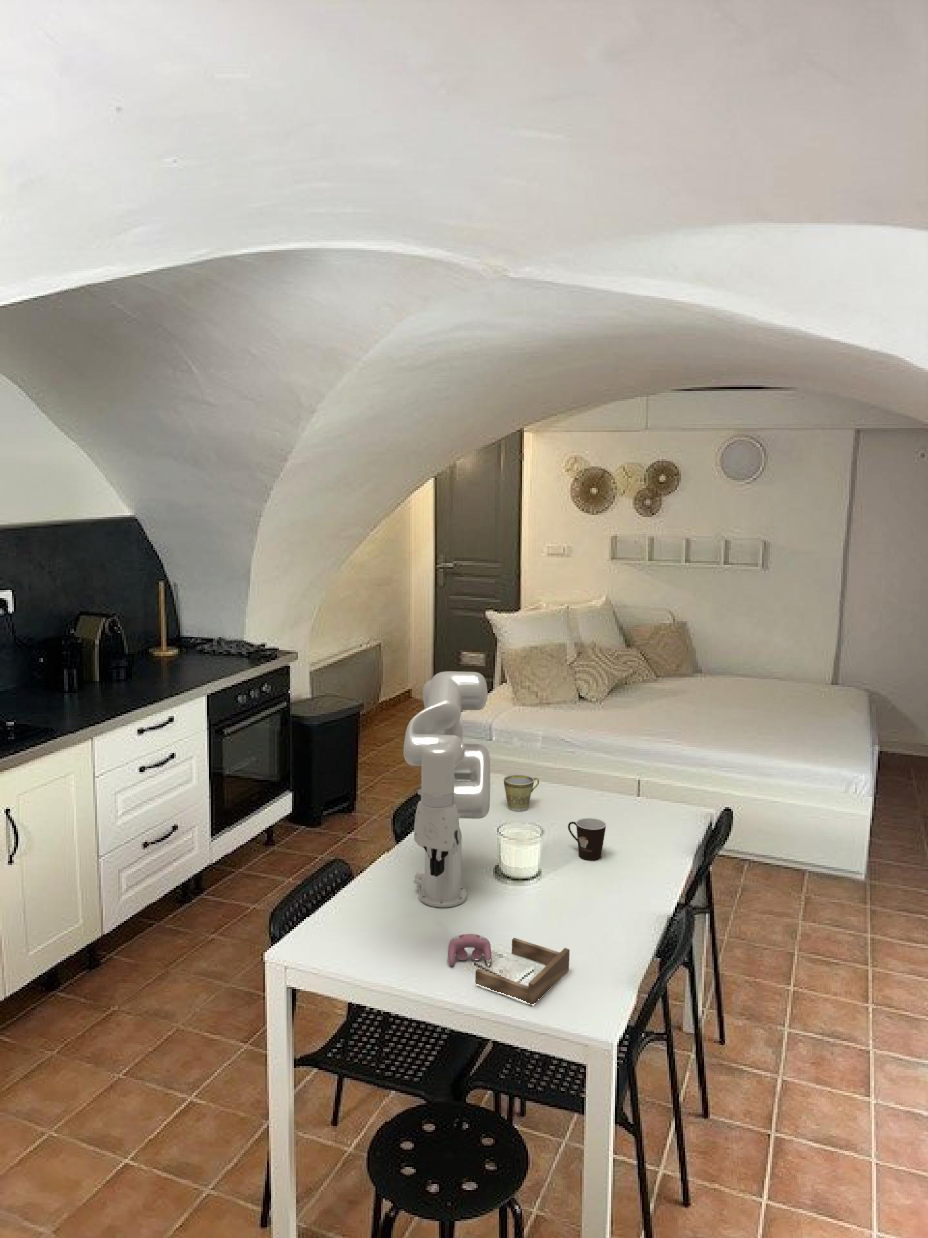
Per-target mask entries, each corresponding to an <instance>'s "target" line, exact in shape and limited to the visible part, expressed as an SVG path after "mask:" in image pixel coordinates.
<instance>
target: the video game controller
mask: <svg viewBox="0 0 928 1238" xmlns="http://www.w3.org/2000/svg"><path fill="white" fill-rule="evenodd" d="M491 946H492V945H491V942H490V941H489V939H488V938H487V937H485V936H483V935H479V934H475V933H464V934H461V935H456V936H454V937H452V938H451V939H450V941H449V943H448V947H447V948H448V949H447V955H448V957H447V958H448V964H449V967H450V966H453V967H454V965H455V960H456V956H457V958H458V959H459V960H460V961H466V960H467V959H468V956H469V954H468V952H467V950H466V949H467V948H474V949H473V950H472V952H471V958H472V960H475V959H479V960H480V959H482V956H484V960H485V959H486V960H490V959H491V960H492V948H491ZM475 961H476V960H475Z"/></svg>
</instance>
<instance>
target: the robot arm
mask: <svg viewBox="0 0 928 1238" xmlns="http://www.w3.org/2000/svg"><path fill="white" fill-rule="evenodd" d="M422 698H423V699H422V700H423V705H424V706H423V707H424V709H422V710H421V711H420V712H418V713H417V714H416V715H415V716H413V717H412V719H410V721H409V723H408V725H407V727H406V729H405V736H404V741H403V757H404V760H405V762H406V763H407V764H408V765H409V766H411V767H421V772H420V773H421V778H420V780H421V785H420V786H421V788H419V789H417V794H418V795H420V800H419V801H418V803H417V806H416V810H415V816H414V827H413V840H414V842H415V843H416V844H417V846H419V847H421V848H423V849H424V874H423V873H421V872H416V873H415V875H414V878H413V884H415V885H418V886H419V885H420V889H419V890H418V899H419V900H420V902H421V903H423V904H424V905H427V906H430V907H434V908H452V907H456V906H459V905H461V904H463V903H464V902H465V901H466V900H467V896H468V894H467V890H466V889H465V888H464V886H462V848H463V847H462V843H463V842H462V839H463V838H462V837H463V835H462V831H461V828H460V819H471V820H472V819H473V820H475V819H476V820H477V819H479V820H480V819H483V818H485V817H487V816H488V814H489V812H490V811H489V810H490V805H491V804H490V803H491V756H490V752H489V750H488V748H487V747H486V746H484V745H483V744H480V743H465V742H464V741H463V739H464V738H463V737H464V730H463V727H462V725H461V723H460V719H461V715H462V711H480V710H483V709H484V708H485V707H486V704H487V701H488V686H487V681H486V679H485V677H484V675H483V674H481V673H479V672H477V671H453V670H452V671H451V670H449V671H440V672H438V673H436V674H435V675H433V677H432V678H431V679H430V680H428V681H426V682H425V683H424V686H423V689H422Z"/></svg>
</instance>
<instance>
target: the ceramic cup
mask: <svg viewBox="0 0 928 1238" xmlns="http://www.w3.org/2000/svg"><path fill="white" fill-rule="evenodd" d="M535 781H537V784H535V786H534V783H535ZM539 784H540V779H539V778H537V777H532V776H531V775H526V774H520V773H519V774H510V775H509V774H508V775H506V776H505V777H504V778H503V786H504V791H505V796H506V797H505V798H506V803H507V809H508V810H509V811H511V812H517V813H518V812H519V813H520V812H526V811H528V808H529V805H530V801H531V795H532V793H533V792H534V790H536V788H537V787H538V786H539Z"/></svg>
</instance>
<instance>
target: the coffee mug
mask: <svg viewBox="0 0 928 1238" xmlns="http://www.w3.org/2000/svg"><path fill="white" fill-rule="evenodd" d="M571 825H574V826H576V827H575V828H576V835H575V834H574V833H573V831H572V830H571ZM606 828H607V823H606V822H605V821H604V820H602V819H599V818H593V817H585V818H583V817H582V818H580V819H577V820H576V821H570V822H569V823H568V824H567V829H568V832H569V834H570V835H571V836H572V838H573V839H574V840H575V842H577V848H578V849H577V851H578V857H579V858H580V859H581V860H583V859H584V861H587V862H597V861H599V860H600V859H602V852H603V848H604V847H603V846H604V840H605V834H606ZM576 836H577V837H576Z"/></svg>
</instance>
